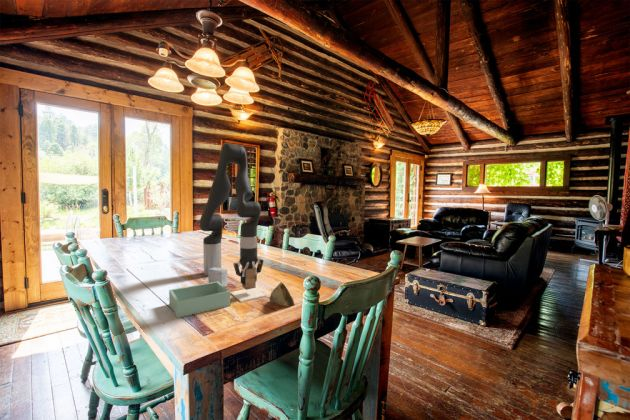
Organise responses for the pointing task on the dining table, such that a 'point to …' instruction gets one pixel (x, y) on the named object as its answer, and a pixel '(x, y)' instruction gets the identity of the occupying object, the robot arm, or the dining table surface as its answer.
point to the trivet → (248, 294)
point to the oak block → (250, 278)
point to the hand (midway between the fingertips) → (248, 283)
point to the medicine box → (218, 275)
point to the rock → (282, 296)
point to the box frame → (198, 298)
